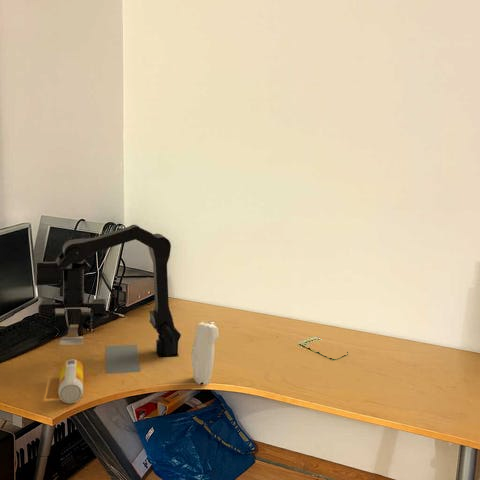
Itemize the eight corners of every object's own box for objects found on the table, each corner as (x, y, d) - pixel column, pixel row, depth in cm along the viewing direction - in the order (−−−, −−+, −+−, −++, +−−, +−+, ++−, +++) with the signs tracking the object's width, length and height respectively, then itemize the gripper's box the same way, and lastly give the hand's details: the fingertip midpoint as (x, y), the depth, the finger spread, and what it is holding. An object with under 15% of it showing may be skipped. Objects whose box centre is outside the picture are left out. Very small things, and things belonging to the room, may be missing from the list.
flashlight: (216, 377, 149) (191, 375, 149) (220, 320, 146) (195, 318, 146) (214, 388, 143) (188, 385, 143) (218, 328, 139) (192, 326, 139)
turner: (64, 333, 154) (64, 324, 154) (84, 332, 155) (84, 324, 155) (59, 345, 139) (59, 335, 139) (82, 344, 141) (82, 335, 141)
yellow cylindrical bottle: (62, 380, 142) (60, 407, 128) (58, 360, 140) (56, 386, 126) (84, 375, 144) (84, 401, 130) (81, 356, 142) (80, 380, 128)
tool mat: (136, 346, 167) (136, 344, 167) (140, 373, 148) (140, 371, 148) (105, 347, 165) (105, 346, 164) (105, 375, 146) (105, 373, 145)
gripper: (106, 276, 156) (105, 323, 159) (42, 276, 151) (43, 325, 154) (106, 286, 145) (105, 336, 148) (37, 286, 140) (38, 339, 143)
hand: (73, 333), depth 149 cm, fingers closed on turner, 3 cm apart
